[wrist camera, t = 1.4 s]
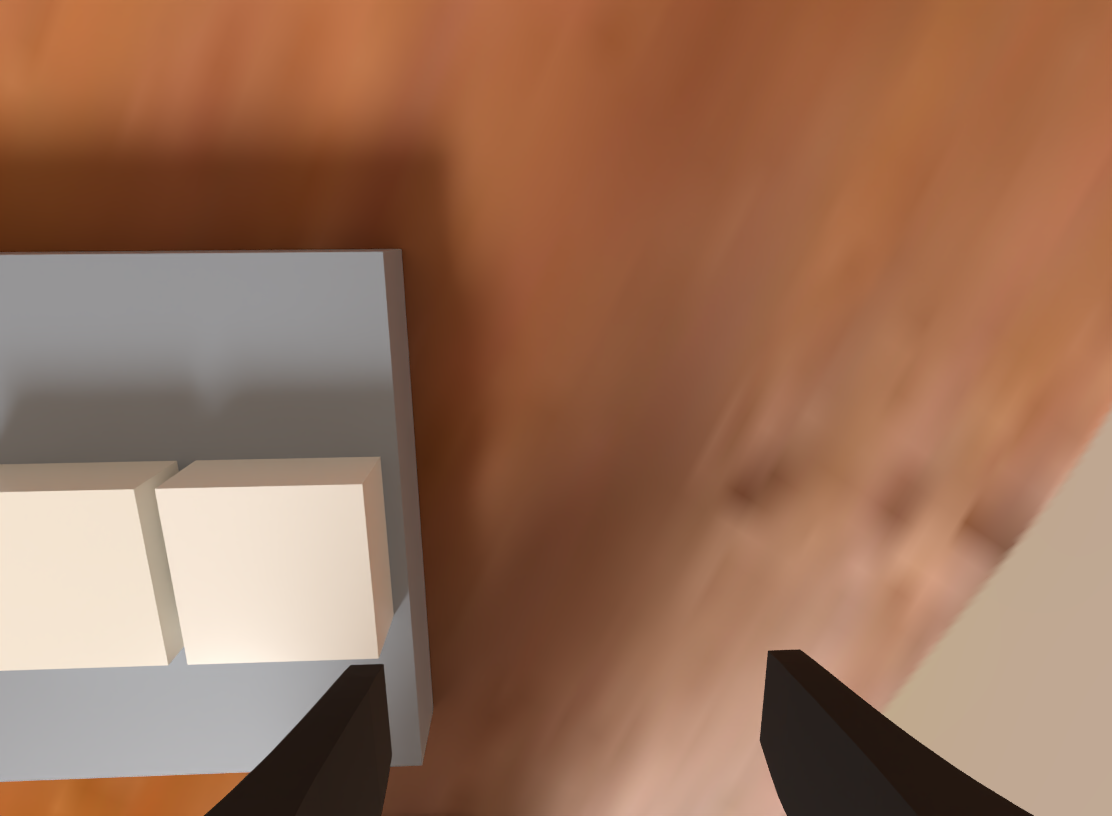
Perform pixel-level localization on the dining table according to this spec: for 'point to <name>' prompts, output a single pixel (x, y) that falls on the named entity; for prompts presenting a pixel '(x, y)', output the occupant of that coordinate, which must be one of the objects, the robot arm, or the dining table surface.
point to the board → (209, 434)
